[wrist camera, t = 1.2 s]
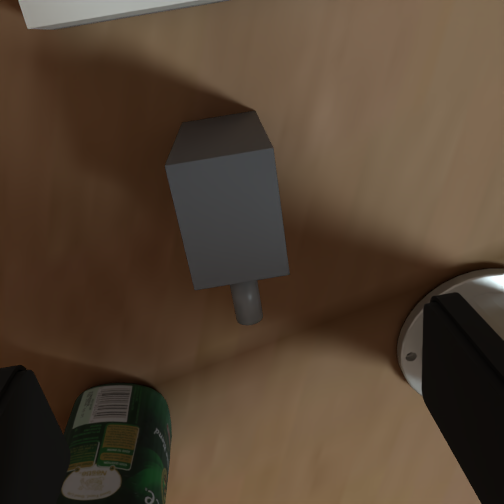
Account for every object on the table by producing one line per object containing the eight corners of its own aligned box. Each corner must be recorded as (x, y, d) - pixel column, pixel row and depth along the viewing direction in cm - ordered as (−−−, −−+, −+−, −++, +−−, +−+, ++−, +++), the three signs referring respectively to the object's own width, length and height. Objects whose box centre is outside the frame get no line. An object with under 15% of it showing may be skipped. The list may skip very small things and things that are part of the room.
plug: (255, 110, 27) (273, 147, 18) (273, 242, 31) (296, 326, 22) (182, 122, 27) (164, 165, 18) (210, 253, 31) (207, 341, 22)
